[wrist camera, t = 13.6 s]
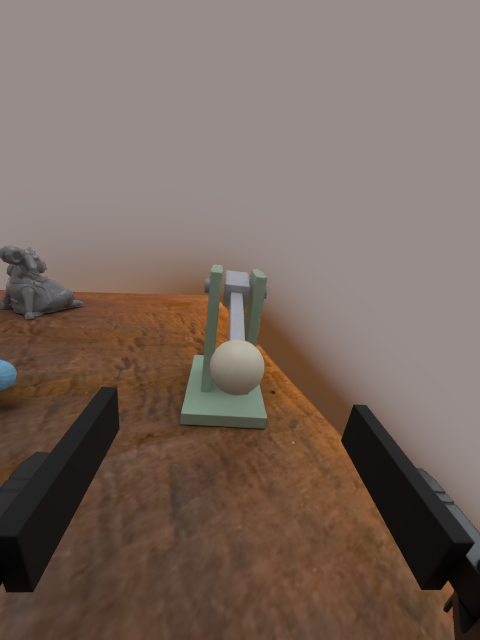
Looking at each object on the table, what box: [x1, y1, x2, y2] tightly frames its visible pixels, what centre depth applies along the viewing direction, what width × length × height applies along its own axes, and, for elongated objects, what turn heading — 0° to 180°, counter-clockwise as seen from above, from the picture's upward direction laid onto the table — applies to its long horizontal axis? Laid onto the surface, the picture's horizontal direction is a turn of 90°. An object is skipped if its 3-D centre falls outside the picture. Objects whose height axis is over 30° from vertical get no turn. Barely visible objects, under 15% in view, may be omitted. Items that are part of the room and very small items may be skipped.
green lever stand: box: [180, 265, 267, 429], centre depth 26 cm, size 11×8×14 cm
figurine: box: [0, 246, 84, 320], centre depth 43 cm, size 8×10×11 cm
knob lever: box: [210, 271, 264, 395], centre depth 20 cm, size 13×4×4 cm, turn 4°
